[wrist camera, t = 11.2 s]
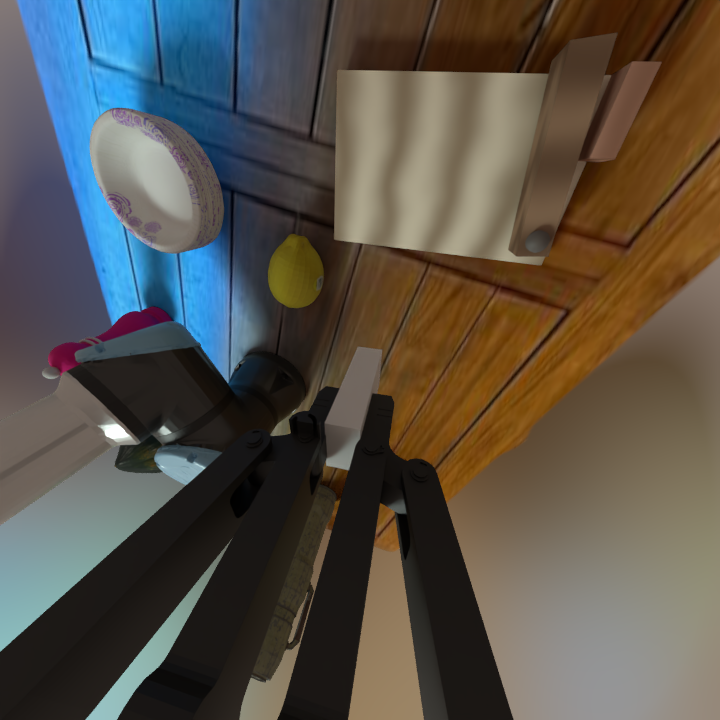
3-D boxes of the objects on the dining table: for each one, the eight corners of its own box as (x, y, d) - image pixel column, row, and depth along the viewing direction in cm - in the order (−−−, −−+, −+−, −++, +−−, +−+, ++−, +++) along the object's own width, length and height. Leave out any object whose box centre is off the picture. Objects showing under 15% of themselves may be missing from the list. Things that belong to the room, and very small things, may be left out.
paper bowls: (143, 209, 43) (91, 213, 36) (146, 93, 34) (78, 71, 28) (227, 263, 44) (191, 276, 38) (250, 165, 36) (209, 160, 29)
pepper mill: (143, 297, 53) (11, 346, 36) (176, 313, 53) (60, 369, 37) (146, 326, 57) (29, 382, 41) (177, 341, 57) (73, 402, 41)
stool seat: (339, 237, 38) (326, 243, 33) (344, 78, 29) (327, 57, 25) (543, 261, 34) (559, 272, 29) (620, 84, 25) (661, 61, 20)
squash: (195, 470, 75) (135, 483, 61) (160, 465, 80) (97, 477, 66) (201, 418, 78) (144, 420, 64) (166, 417, 83) (107, 419, 69)
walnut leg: (536, 249, 31) (550, 257, 27) (508, 249, 31) (517, 257, 28) (591, 55, 23) (622, 28, 19) (551, 61, 23) (574, 36, 20)
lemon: (318, 308, 45) (298, 328, 38) (277, 285, 44) (249, 302, 38) (343, 247, 39) (324, 259, 32) (295, 220, 38) (266, 226, 32)
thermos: (337, 508, 78) (281, 692, 50) (301, 493, 79) (224, 666, 50) (345, 494, 73) (287, 689, 45) (306, 477, 74) (223, 661, 45)
